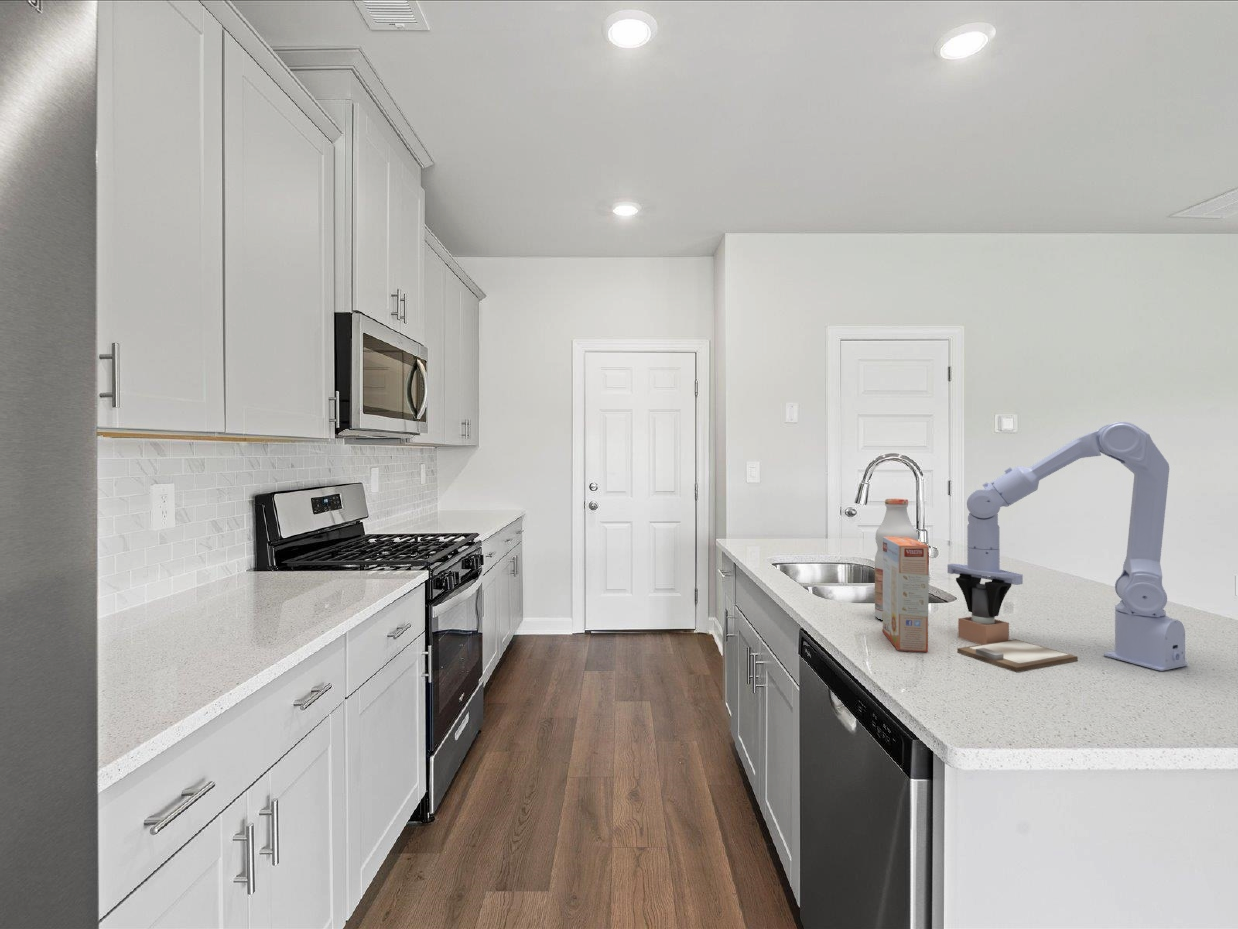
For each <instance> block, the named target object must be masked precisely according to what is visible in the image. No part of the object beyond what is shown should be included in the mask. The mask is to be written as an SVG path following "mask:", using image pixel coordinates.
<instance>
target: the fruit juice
mask: <svg viewBox="0 0 1238 929" xmlns="http://www.w3.org/2000/svg"><path fill="white" fill-rule="evenodd" d="M884 506H885V507H886V510H885V514H884V517H883V520H882V523H880V526H879V527H878V528H877V530H876V531H875V535H874V536H875V544H876V547H877V551H876V553H875V555H874V614H875V615H874V616H875V618H876V617H877V618H878V619H881V620H883V537H909V538H912V539H914V540H916V541H918V542H919V534H918V531H917V530H916V529H915V527H914V526H913V524H912V523H911V520H910V517H909V514H908V510H907V508H908V507H909V500H908V499H907V498H886V499H885V500H884ZM877 618H876V619H877ZM878 619H877V620H878Z"/></svg>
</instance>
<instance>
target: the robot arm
mask: <svg viewBox="0 0 1238 929" xmlns="http://www.w3.org/2000/svg"><path fill="white" fill-rule="evenodd" d="M1102 455H1105V456H1107V457H1109V458H1111V459H1114V460H1116V461H1118V462H1120V464H1122V465H1123V466H1124V467H1125V468H1126V469H1128V470H1129V471H1130V472H1131V473H1133V484H1132V495H1131V504H1130V505H1131V506H1130V515H1129V525H1128V538H1127V546H1126V547H1127V548H1126V556H1125V559H1124V562H1123V565H1122V566H1123V567H1122V571H1121V574H1120V575H1119V577H1118V578H1117V579H1116V581H1115V582H1114V589H1115V590H1114V591H1115V593H1116V595H1117V596H1118V597H1119V599H1121V600H1120V602H1119V603H1118V604H1116V605H1115V606H1114V650H1112V651H1107V652H1104V653H1103V656H1105V657H1108V658H1112V659H1115V660H1119V661H1123V662H1127V663H1130V664H1134V665H1137V666H1140V667H1141V666H1142V667H1145V668H1148V669H1153V670H1156V671H1161V672H1163V671H1168V670H1172V669H1177V668H1183V667H1186V666H1188V664H1189V663H1188V662H1186V630H1185V625H1184V624H1183V623H1182V621H1180V620H1179V619H1175V618H1171V617H1169V616H1168V615H1167V614H1166V613H1167V612H1166V610H1165V608H1166V606H1167V603H1168V595H1167V592H1166V591H1165V589H1164V586H1163V572H1162V566H1161V558H1162V557H1161V556H1162V548H1163V539H1164V538H1163V537H1164V536H1163V535H1164V528H1165V527H1164V525H1165V517H1166V515H1165V514H1166V509H1167V508H1166V505H1167V496H1168V487H1169V486H1168V485H1169V477H1170V465H1169V462H1168V461H1167V459H1166V458H1165V457H1164V455H1163V454H1162V453H1161V451H1160V450H1159V448H1158V446H1156V444H1155V443H1154V440H1153V439H1152V437H1151V436H1150V434H1149V433H1148V432H1147V431H1145V430H1143V429H1142V428H1140V427H1139V426H1137V425H1135V424H1134V423H1131V422H1127V421H1117V422H1116V421H1115V422H1112V423H1110V424H1106V425H1104V426H1101V428H1099V429H1098V430H1094V431H1090V432H1088V433H1086V434H1084V435H1082V436H1079V437H1077V438H1075V439H1073V440H1071V441H1069V442H1068V443H1065V445H1063V446H1062V447H1060V448H1058V449H1057V450H1055V451H1054V452H1052V453H1050V454H1049V455H1047V456H1045V457H1044V458H1042V459H1041V460H1039V461H1037V462H1036V463H1035V464H1033V465H1031V466H1030V467H1025V466H1019V465H1017V466H1015V467H1014V468H1012V467H1008V468H1006V469H1005V470H1004V474H1002V475H1001V476H999V477H997V478H996V479H994V480H992V481H990V482H987V481H986V482H984V483H983V484H982V486H983V487H984V489H983V488H981V489H976V490H975V491H973V492H972V493H971V494H970V495H969V497H968V498H967V500H966V506H967V510H968V512H969V513H968V516H967V521H968V524H967V529H966V530H967V532H966V534H967V536H966V537H967V539H966V540H967V545H966V546H967V547H966V548H967V557H966V558H967V564H959V563H948V564H947V574H950V575H954V574H955V575H959V576H958V577H956V578H955V582H956V583H957V584H958V586H959V589H960V590H961V592H962V595H963V597H964V599H965V604H966V607H967V611H968V613H972V587H976V584H981V581H982V579H985V580H990V581H985V582H984V584H985V586H986V589H987V594H988V611H989V616H991V617H995V618H996V617H998V616H999V614H1000V611H1001V610H1000V609H1001V606H1002V604H1003V601H1004V598H1005V597H1006V595H1007V593H1008V592H1009V590H1010V588H1011V587H1012V585H1014V586H1015V585H1016V586H1018V585H1019V586H1020V585H1023V584H1024V583H1023V581H1024V580H1023V578H1024V575H1023V574H1022V573H1017V572H1012V571H1008V570H1004V569H1000V566H1001V565H1000V550H1001V549H1000V525H999V518H998V516H999V515H998V514H999V512H1000V510H1001V507H1006V508H1007V507H1009V506H1012V505H1013V504H1014V503H1017V502H1019V501H1020V500H1022V499H1024V498H1026V497H1027V496H1029V495H1030V494H1032V493H1033V494H1034V492H1036V491H1038V488H1039V484H1040V481H1041V480H1043V479H1044V478H1047V477H1048V476H1050V475H1052V474H1054V473H1056V472H1057V471H1059V470H1061V469H1064V468H1065V467H1067V466H1068V465H1070V464H1073V463H1074V462H1076V461H1078V460H1079V459H1084V458H1091V457H1100V456H1102Z"/></svg>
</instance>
